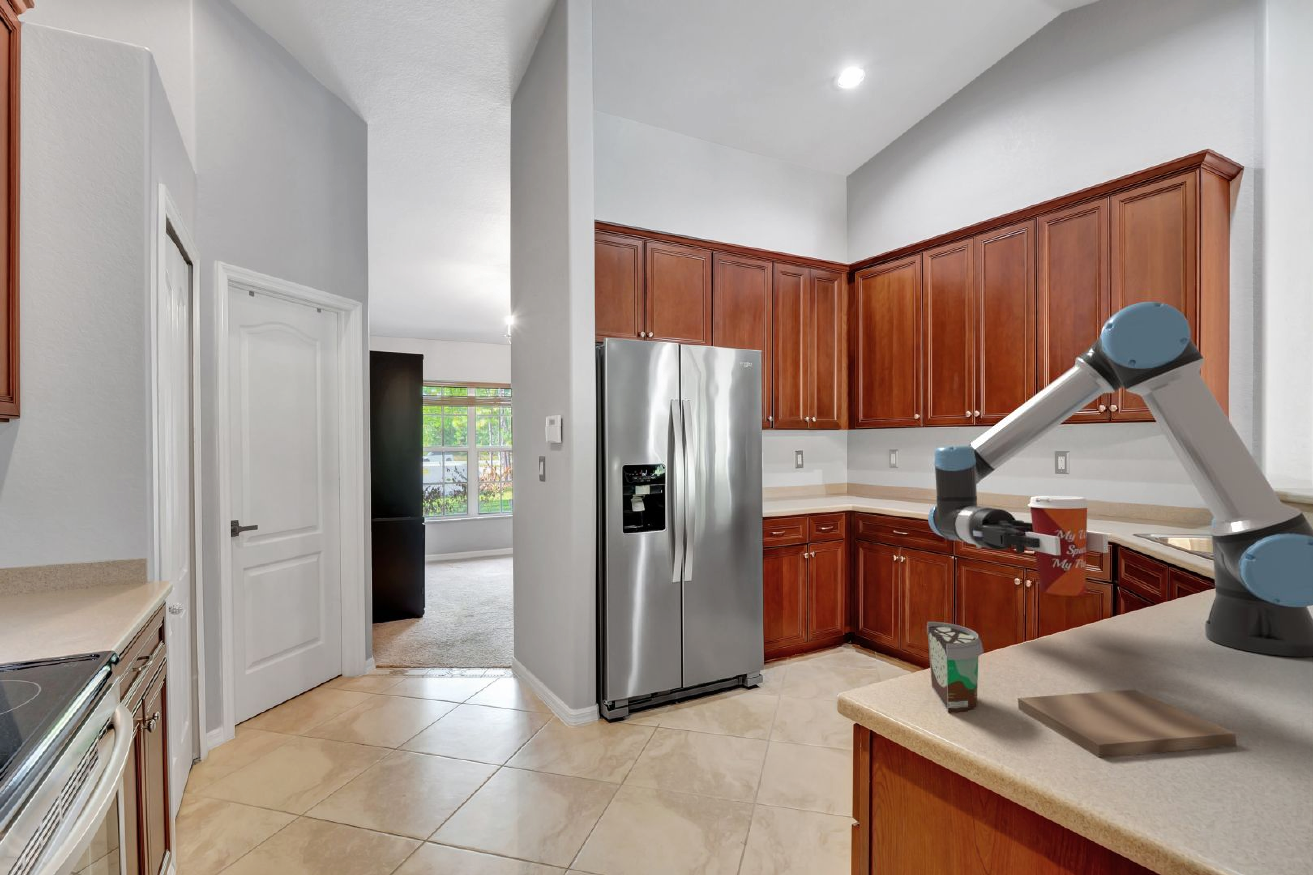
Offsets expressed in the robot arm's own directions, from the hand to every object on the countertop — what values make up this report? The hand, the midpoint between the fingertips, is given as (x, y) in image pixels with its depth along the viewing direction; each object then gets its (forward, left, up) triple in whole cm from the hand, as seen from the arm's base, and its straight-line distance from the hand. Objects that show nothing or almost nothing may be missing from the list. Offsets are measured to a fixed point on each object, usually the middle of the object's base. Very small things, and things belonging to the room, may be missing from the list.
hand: (1081, 544), depth 92 cm
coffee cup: (0, -4, -8) cm, 9 cm away
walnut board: (+5, +11, -22) cm, 25 cm away
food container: (+20, 0, -22) cm, 30 cm away
